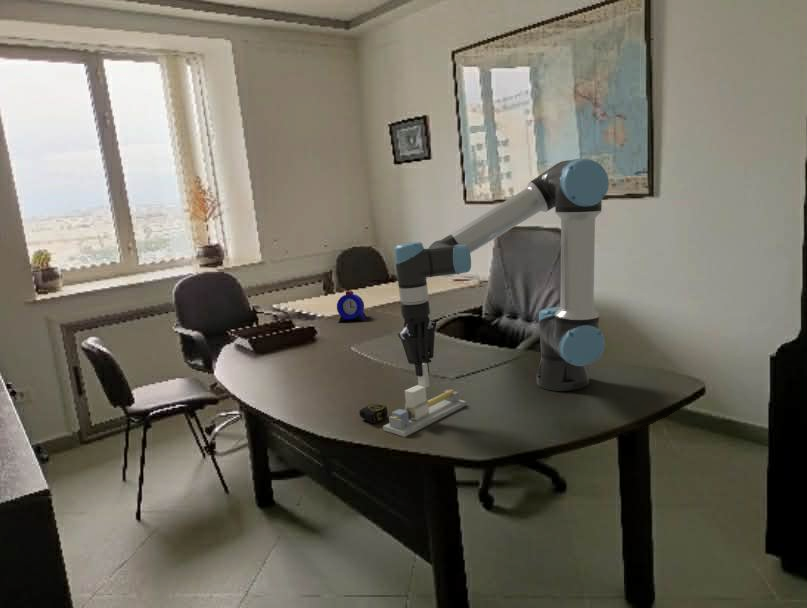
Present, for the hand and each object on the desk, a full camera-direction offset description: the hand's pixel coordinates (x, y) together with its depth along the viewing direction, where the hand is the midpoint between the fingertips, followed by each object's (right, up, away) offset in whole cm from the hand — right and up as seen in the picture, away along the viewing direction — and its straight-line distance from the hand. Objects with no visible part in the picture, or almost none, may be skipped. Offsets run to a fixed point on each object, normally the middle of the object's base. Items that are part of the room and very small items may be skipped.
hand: (424, 386), depth 166 cm
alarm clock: (-30, +14, +135) cm, 139 cm away
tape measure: (-14, -10, +4) cm, 17 cm away
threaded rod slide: (+1, -9, +2) cm, 9 cm away
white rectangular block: (-2, -8, -1) cm, 8 cm away
